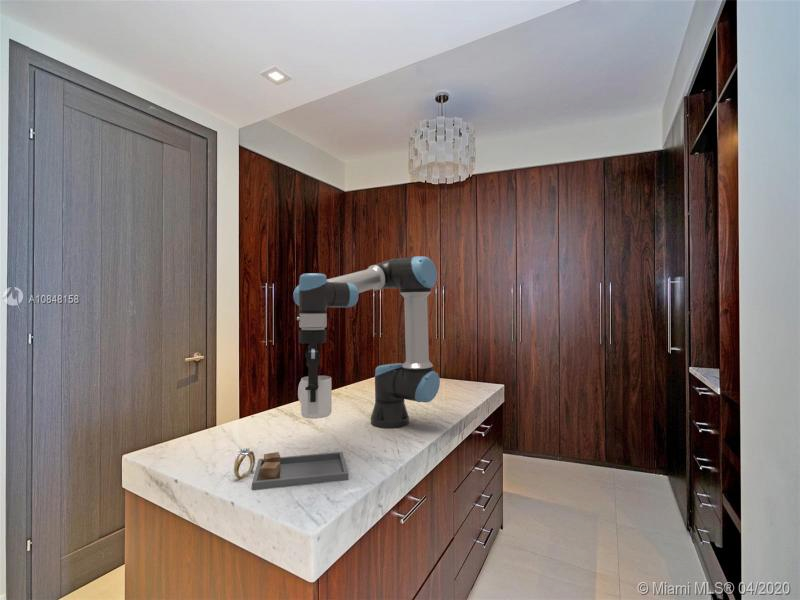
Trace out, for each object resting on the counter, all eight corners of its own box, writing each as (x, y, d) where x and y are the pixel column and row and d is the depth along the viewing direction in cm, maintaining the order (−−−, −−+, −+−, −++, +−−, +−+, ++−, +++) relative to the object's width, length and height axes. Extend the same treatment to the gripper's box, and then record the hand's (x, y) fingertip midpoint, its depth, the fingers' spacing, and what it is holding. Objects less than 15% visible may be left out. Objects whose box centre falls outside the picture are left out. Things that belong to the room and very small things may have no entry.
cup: (314, 420, 106) (314, 382, 106) (286, 413, 113) (286, 377, 114) (337, 413, 113) (337, 377, 113) (310, 407, 120) (309, 373, 120)
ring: (249, 472, 112) (249, 444, 112) (258, 474, 111) (258, 445, 111) (229, 483, 106) (230, 452, 106) (239, 485, 105) (239, 454, 105)
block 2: (280, 477, 107) (280, 462, 107) (275, 483, 103) (275, 468, 103) (265, 477, 108) (265, 462, 108) (259, 483, 104) (259, 468, 104)
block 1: (278, 466, 115) (278, 451, 115) (280, 471, 111) (280, 456, 111) (263, 468, 113) (263, 454, 113) (265, 473, 110) (265, 459, 110)
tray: (342, 459, 121) (342, 451, 121) (348, 482, 106) (348, 473, 106) (258, 467, 116) (258, 459, 116) (251, 493, 100) (251, 483, 100)
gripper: (299, 326, 123) (299, 400, 122) (298, 331, 101) (297, 420, 101) (324, 326, 124) (324, 399, 124) (328, 331, 103) (328, 419, 102)
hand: (312, 408), depth 112 cm, fingers closed on cup, 10 cm apart
